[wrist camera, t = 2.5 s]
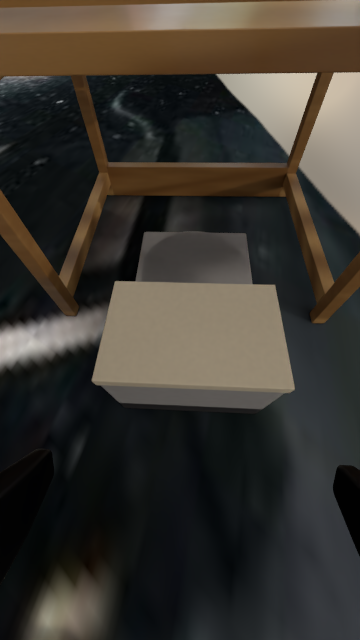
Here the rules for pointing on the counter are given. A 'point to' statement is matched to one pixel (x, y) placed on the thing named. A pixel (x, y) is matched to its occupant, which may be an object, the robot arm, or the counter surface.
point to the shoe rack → (181, 58)
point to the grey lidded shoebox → (194, 329)
